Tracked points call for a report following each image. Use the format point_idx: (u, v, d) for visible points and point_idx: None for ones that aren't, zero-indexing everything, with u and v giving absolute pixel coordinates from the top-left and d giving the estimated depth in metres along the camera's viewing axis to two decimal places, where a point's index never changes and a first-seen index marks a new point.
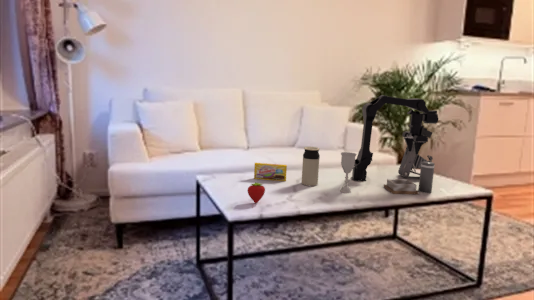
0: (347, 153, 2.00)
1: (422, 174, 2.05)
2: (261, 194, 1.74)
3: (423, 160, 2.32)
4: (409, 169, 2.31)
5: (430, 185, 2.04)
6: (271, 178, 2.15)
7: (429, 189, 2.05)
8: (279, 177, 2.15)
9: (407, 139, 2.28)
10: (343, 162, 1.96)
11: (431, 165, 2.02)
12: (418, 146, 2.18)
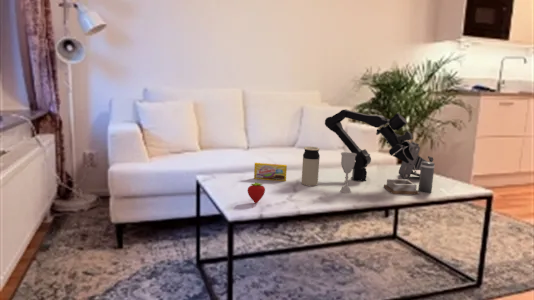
0: (347, 153, 2.00)
1: (422, 174, 2.05)
2: (261, 194, 1.74)
3: (424, 161, 2.31)
4: (410, 171, 2.30)
5: (430, 185, 2.04)
6: (271, 178, 2.15)
7: (429, 189, 2.05)
8: (279, 177, 2.15)
9: None
10: (343, 162, 1.96)
11: (431, 165, 2.02)
12: (402, 156, 2.06)
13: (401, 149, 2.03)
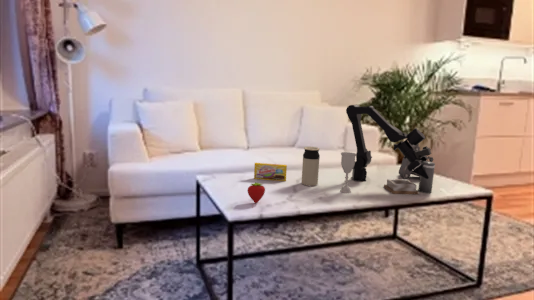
0: (347, 153, 2.00)
1: None
2: (261, 194, 1.74)
3: None
4: (410, 171, 2.30)
5: (430, 185, 2.04)
6: (271, 178, 2.15)
7: (429, 189, 2.05)
8: (279, 177, 2.15)
9: None
10: (343, 162, 1.96)
11: (431, 165, 2.02)
12: (421, 171, 2.03)
13: (421, 165, 2.00)
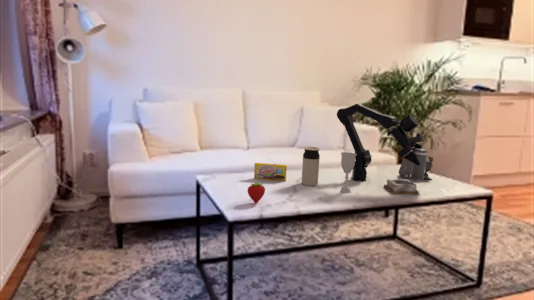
0: (347, 153, 2.00)
1: None
2: (261, 194, 1.74)
3: None
4: (410, 171, 2.30)
5: (422, 172, 2.03)
6: (271, 178, 2.15)
7: (421, 176, 2.03)
8: (279, 177, 2.15)
9: None
10: (343, 162, 1.96)
11: (423, 152, 2.00)
12: (412, 158, 2.02)
13: (411, 151, 1.99)
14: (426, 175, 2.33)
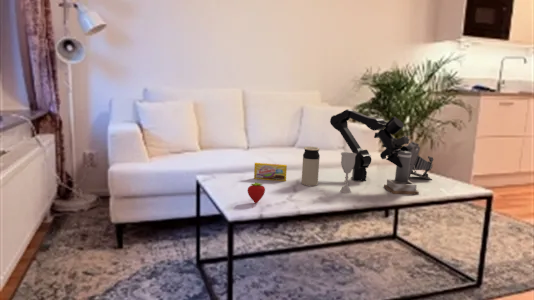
0: (347, 153, 2.00)
1: None
2: (261, 194, 1.74)
3: (424, 161, 2.31)
4: (410, 171, 2.30)
5: (405, 175, 2.02)
6: (271, 178, 2.15)
7: (404, 179, 2.03)
8: (279, 177, 2.15)
9: None
10: (343, 162, 1.96)
11: (406, 154, 2.00)
12: (395, 160, 2.02)
13: (393, 153, 2.00)
14: (426, 175, 2.33)
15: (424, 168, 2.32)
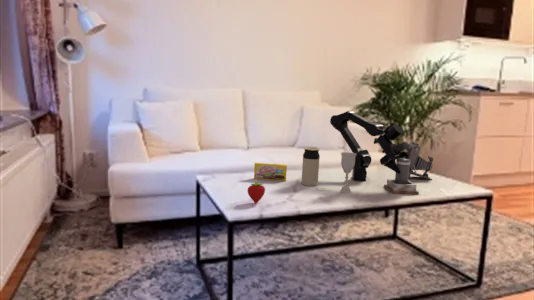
0: (347, 153, 2.00)
1: None
2: (261, 194, 1.74)
3: (424, 161, 2.31)
4: (410, 171, 2.30)
5: (404, 182, 2.03)
6: (271, 178, 2.15)
7: None
8: (279, 177, 2.15)
9: None
10: (343, 162, 1.96)
11: (404, 162, 2.01)
12: (393, 166, 2.02)
13: (391, 159, 2.00)
14: (426, 175, 2.33)
15: (424, 168, 2.32)
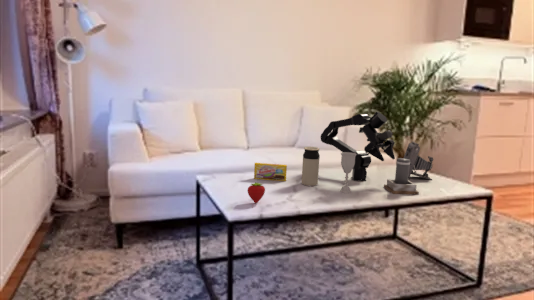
0: (347, 153, 2.00)
1: (396, 171, 2.05)
2: (261, 194, 1.74)
3: (424, 161, 2.31)
4: (410, 171, 2.30)
5: (404, 182, 2.03)
6: (271, 178, 2.15)
7: None
8: (279, 177, 2.15)
9: (385, 150, 2.17)
10: (343, 162, 1.96)
11: (404, 162, 2.01)
12: (377, 153, 2.08)
13: (375, 147, 2.06)
14: (426, 175, 2.33)
15: (424, 168, 2.32)
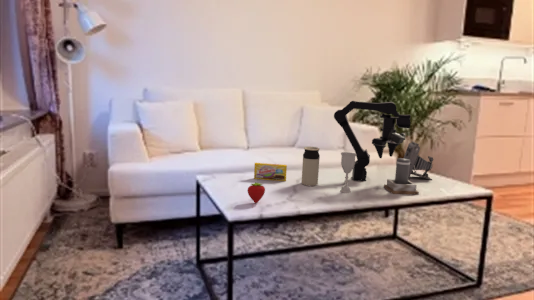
0: (347, 153, 2.00)
1: (396, 171, 2.05)
2: (261, 194, 1.74)
3: (424, 161, 2.31)
4: (410, 171, 2.30)
5: (404, 182, 2.03)
6: (271, 178, 2.15)
7: None
8: (279, 177, 2.15)
9: (389, 143, 2.23)
10: (343, 162, 1.96)
11: (404, 162, 2.01)
12: (380, 150, 2.15)
13: (381, 146, 2.12)
14: (426, 175, 2.33)
15: (424, 168, 2.32)
